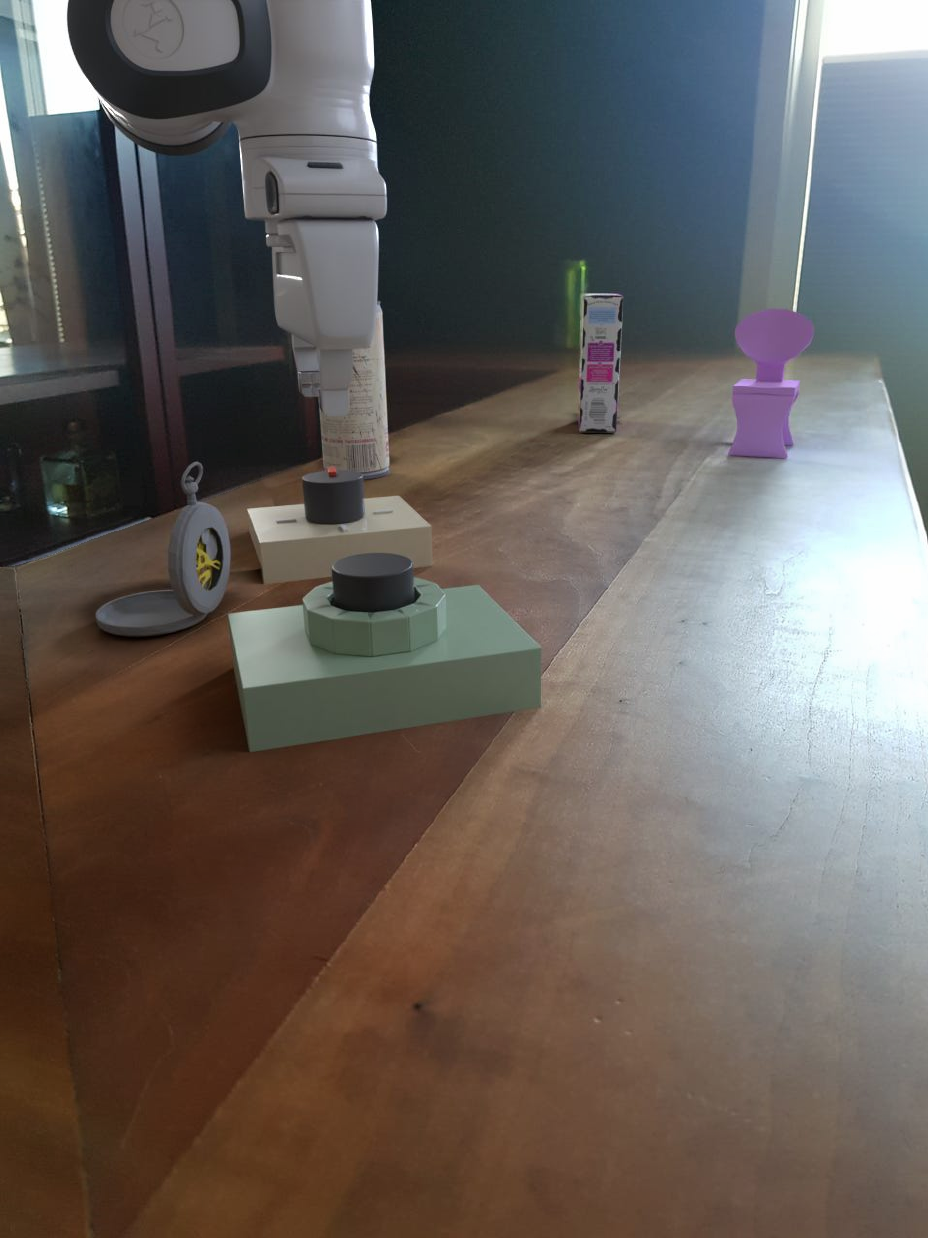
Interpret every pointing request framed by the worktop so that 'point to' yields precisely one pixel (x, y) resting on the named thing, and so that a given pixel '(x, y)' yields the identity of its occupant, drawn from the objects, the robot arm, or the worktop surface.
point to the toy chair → (768, 381)
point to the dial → (333, 496)
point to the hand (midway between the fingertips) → (322, 404)
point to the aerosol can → (361, 415)
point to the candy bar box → (599, 362)
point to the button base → (379, 665)
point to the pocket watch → (179, 575)
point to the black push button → (373, 582)
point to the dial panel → (335, 538)
